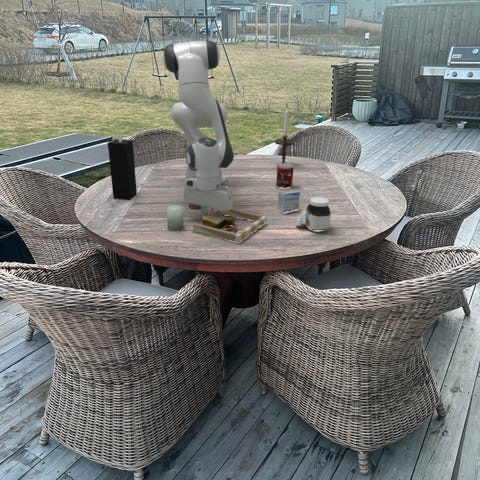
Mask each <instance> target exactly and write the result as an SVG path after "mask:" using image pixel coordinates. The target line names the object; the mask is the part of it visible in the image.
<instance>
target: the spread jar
mask: <svg viewBox="0 0 480 480" xmlns="http://www.w3.org/2000/svg"><path fill="white" fill-rule="evenodd" d="M309 200H310V201H309V204H308V205H307V206H306V208H305V210H304V209H302V210H301V211H300V213H299V216H298V217H297V221H299V222H298V224H297V226H300V227H301V226H302V225H303V222H304V221H305V222H304V223H305V226H306V225H307V226H308V227H309V228H311V229H312V230H326V229H328V230H329V228H330V225H331V215H332V212H331V208H330V206H329V203H330V201H329V199H328V198H326V197H320V196H315V197H311V198H310V199H309ZM297 221H296V222H297ZM297 226H296V227H297ZM326 231H327V230H326Z"/></svg>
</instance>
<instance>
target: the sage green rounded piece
mask: <svg viewBox="0 0 480 480" xmlns="http://www.w3.org/2000/svg"><path fill="white" fill-rule="evenodd" d="M166 216H167V217H166V220H167V229H168V230H169V231H174V232H176V231H177V232H178V231H182V230H183V229H185V228H184V227H185V224H184V207H183V206H182V205H181V204H171V205H168V206H167V207H166Z"/></svg>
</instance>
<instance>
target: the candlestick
mask: <svg viewBox="0 0 480 480" xmlns="http://www.w3.org/2000/svg"><path fill="white" fill-rule="evenodd" d="M285 106H286V108H285V110H284V123H283V135H281V137H282V138H280V139H279V138H278V139H275V140H274V144H275V145H279V146H282V152H281V156H282V157H281V160H282V162H281V163H286V159H287V157H286V156H287V152H286V148H287V146H294V145H295V143H296V141H295V140H293V139H290V138H289V136H288V125H289V122H288V121H289V110H288V109H289V107H288V103H286V104H285ZM288 138H289V139H288Z"/></svg>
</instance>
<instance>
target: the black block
mask: <svg viewBox="0 0 480 480" xmlns="http://www.w3.org/2000/svg"><path fill="white" fill-rule="evenodd" d="M116 137H117V139H113V140H110V141H109V142H108V141H107V150H108V159H109V167H110V178H111V189H112V196H113V197H112V199H114V200H122V201H123V200H124V201H131V200H132V199H134V197H136V196H137V195H138V192H137V191H138V190H137V177H136V166H135V154H134V153H135V152H134V140H133V139H123V137H124V134H121V133H116Z"/></svg>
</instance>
